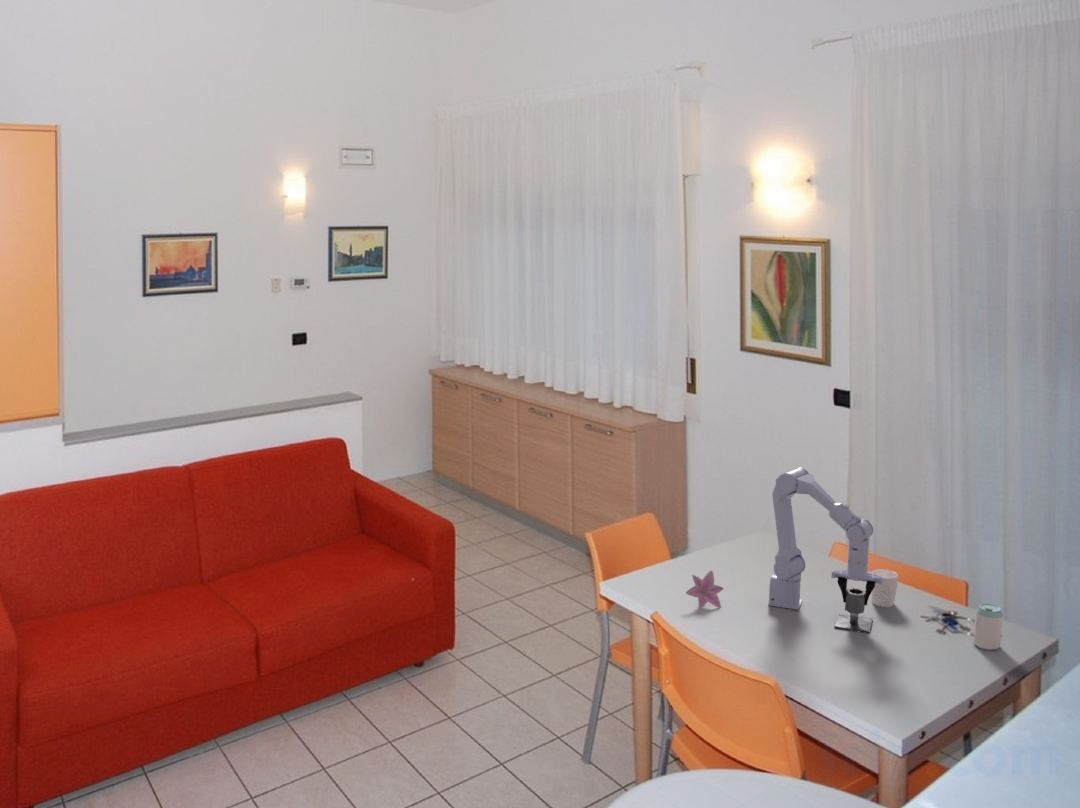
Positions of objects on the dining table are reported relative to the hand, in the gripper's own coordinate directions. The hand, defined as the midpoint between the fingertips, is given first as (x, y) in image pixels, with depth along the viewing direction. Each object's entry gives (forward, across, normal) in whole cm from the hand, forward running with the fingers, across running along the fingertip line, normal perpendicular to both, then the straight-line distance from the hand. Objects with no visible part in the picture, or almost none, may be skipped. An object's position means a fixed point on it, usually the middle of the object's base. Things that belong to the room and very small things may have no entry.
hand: (855, 602), depth 305 cm
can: (+7, +37, -1) cm, 38 cm away
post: (+7, 0, 0) cm, 7 cm away
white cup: (+7, +7, +20) cm, 22 cm away
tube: (+2, 0, 0) cm, 2 cm away
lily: (+7, -46, -2) cm, 46 cm away
